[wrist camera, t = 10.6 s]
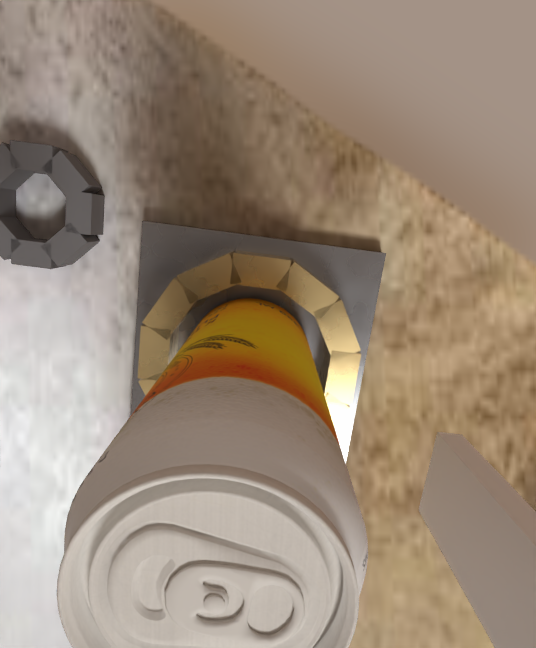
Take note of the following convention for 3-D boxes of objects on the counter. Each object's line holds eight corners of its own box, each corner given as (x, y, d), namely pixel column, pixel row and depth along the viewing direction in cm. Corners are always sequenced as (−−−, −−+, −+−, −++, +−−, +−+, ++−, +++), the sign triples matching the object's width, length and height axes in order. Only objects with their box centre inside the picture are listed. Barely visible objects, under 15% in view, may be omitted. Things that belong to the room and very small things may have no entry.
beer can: (202, 284, 21) (47, 417, 7) (320, 308, 21) (425, 489, 7) (183, 395, 23) (21, 709, 8) (294, 416, 23) (336, 760, 8)
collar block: (133, 436, 24) (116, 463, 21) (147, 221, 21) (129, 220, 19) (342, 461, 24) (351, 491, 22) (381, 252, 22) (397, 256, 19)
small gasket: (-8, 256, 22) (-28, 258, 20) (-10, 140, 20) (-32, 134, 19) (101, 270, 22) (89, 273, 20) (105, 156, 21) (93, 151, 19)
